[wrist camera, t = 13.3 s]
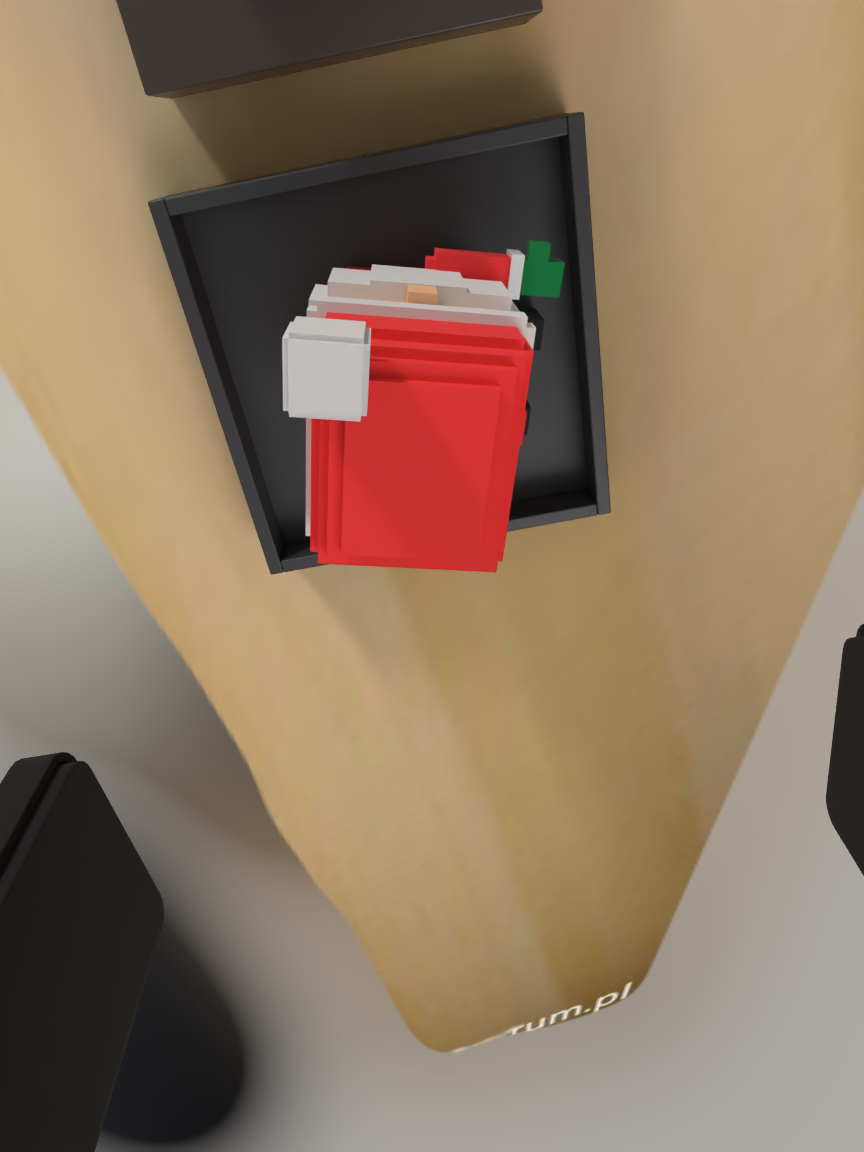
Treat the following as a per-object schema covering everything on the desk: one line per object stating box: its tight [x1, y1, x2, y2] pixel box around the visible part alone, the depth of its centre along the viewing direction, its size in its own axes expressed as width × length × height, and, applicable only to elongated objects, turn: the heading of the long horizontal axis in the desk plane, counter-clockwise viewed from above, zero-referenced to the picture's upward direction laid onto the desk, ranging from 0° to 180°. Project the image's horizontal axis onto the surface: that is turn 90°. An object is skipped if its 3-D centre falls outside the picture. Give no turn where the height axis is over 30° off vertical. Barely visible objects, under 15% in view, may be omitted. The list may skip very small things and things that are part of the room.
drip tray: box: [148, 112, 611, 574], centre depth 27 cm, size 13×13×2 cm
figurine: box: [282, 240, 565, 572], centre depth 22 cm, size 8×7×12 cm
